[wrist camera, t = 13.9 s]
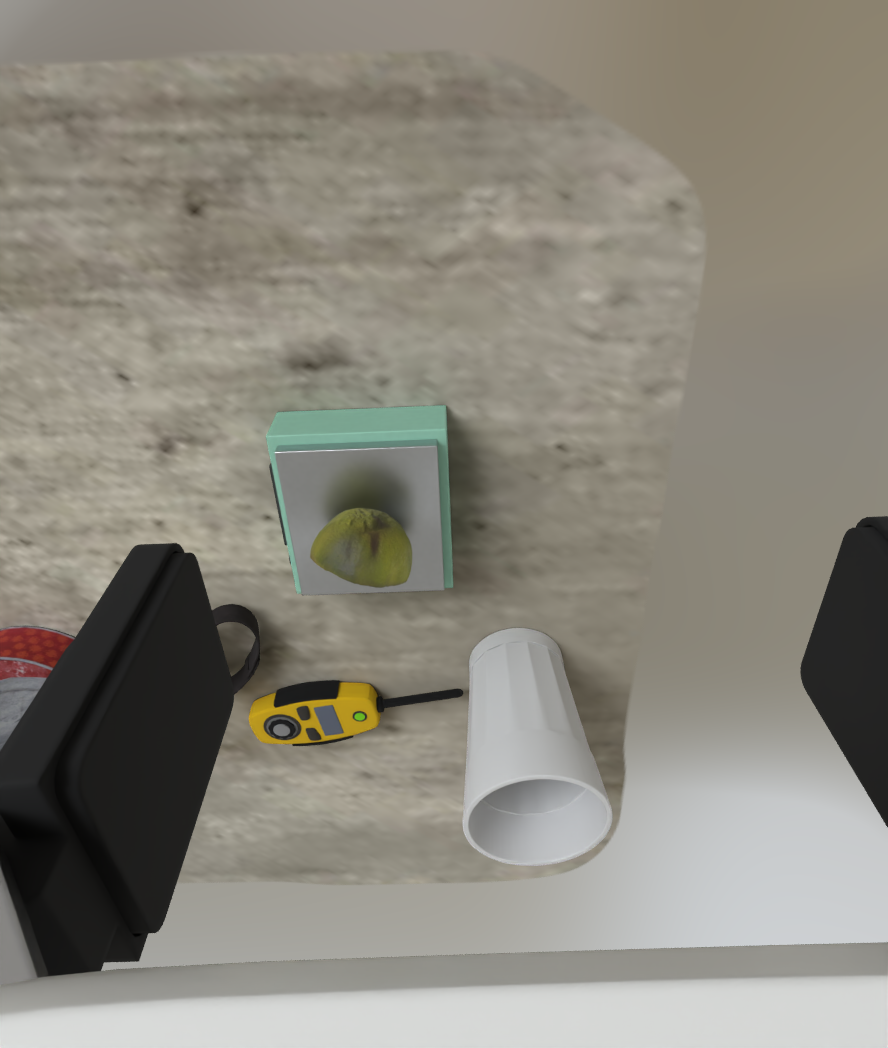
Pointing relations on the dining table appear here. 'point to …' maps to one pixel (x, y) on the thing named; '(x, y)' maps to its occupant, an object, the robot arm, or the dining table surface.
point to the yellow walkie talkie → (325, 712)
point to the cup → (528, 756)
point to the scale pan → (364, 503)
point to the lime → (364, 548)
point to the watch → (248, 619)
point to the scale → (364, 429)
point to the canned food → (25, 669)
